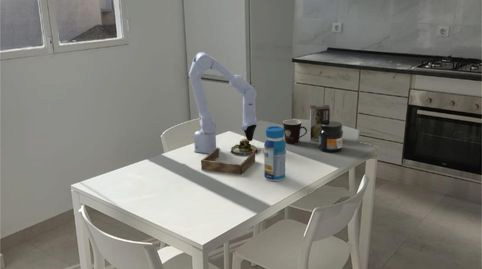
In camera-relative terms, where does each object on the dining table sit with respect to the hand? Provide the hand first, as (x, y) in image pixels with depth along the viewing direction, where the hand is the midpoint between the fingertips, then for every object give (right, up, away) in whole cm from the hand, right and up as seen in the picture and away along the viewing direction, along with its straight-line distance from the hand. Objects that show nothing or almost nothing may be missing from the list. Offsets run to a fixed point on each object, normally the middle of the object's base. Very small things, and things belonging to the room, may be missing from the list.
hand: (249, 140), depth 213 cm
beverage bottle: (+9, -14, -34) cm, 38 cm away
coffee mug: (+21, -1, +4) cm, 21 cm away
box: (-9, -10, -21) cm, 25 cm away
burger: (-3, -5, -5) cm, 8 cm away
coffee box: (+34, +1, +9) cm, 35 cm away
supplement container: (+36, -4, -5) cm, 37 cm away
